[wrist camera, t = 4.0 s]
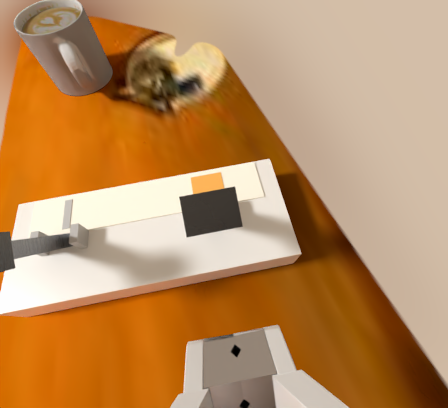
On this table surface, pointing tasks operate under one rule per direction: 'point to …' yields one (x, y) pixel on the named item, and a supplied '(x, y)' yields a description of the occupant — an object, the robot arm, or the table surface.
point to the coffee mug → (65, 45)
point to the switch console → (145, 240)
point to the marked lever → (210, 211)
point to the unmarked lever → (28, 247)
